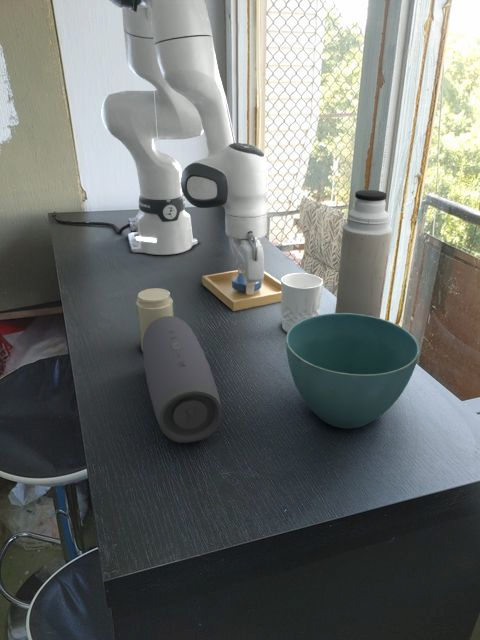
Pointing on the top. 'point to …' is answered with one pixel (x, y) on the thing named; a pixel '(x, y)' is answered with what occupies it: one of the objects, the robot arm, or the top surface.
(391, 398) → the teal bowl
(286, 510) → the top surface
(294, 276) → the white cup
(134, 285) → the top surface
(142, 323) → the jar
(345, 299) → the thermos bottle
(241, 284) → the jar lid
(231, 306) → the tray
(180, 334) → the bluetooth speaker
